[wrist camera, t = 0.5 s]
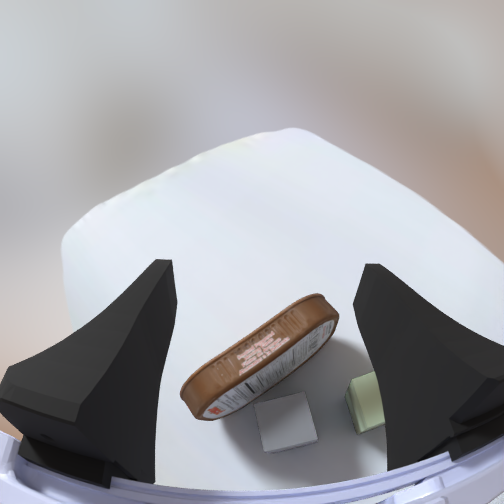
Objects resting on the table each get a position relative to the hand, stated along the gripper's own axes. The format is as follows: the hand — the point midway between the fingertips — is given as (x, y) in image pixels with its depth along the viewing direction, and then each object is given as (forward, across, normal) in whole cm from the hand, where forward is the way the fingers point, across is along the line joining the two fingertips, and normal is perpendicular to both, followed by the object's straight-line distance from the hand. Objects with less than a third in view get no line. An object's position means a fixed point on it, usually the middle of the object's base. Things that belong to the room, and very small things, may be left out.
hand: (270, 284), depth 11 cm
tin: (+8, -2, +18) cm, 19 cm away
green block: (+3, -11, +16) cm, 20 cm away
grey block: (+2, -4, +19) cm, 19 cm away
